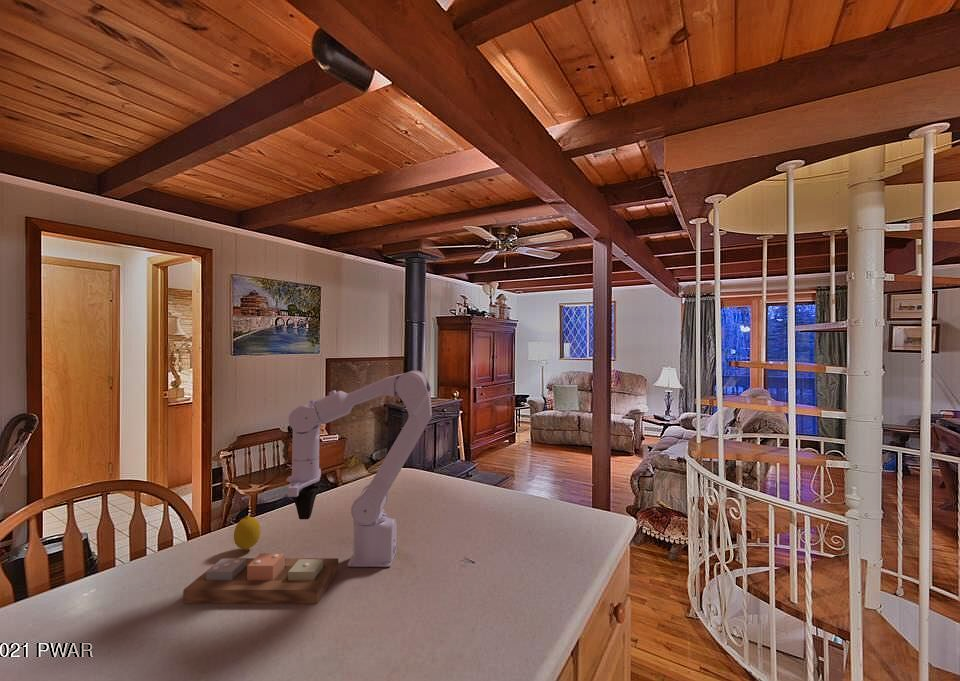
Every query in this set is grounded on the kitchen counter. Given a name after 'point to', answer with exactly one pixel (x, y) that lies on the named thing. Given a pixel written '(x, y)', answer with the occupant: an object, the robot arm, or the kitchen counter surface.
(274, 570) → the tile two
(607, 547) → the kitchen counter surface
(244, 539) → the lemon
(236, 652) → the kitchen counter surface
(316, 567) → the tile one
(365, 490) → the robot arm
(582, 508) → the kitchen counter surface
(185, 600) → the button board
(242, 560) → the tile three
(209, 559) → the kitchen counter surface
